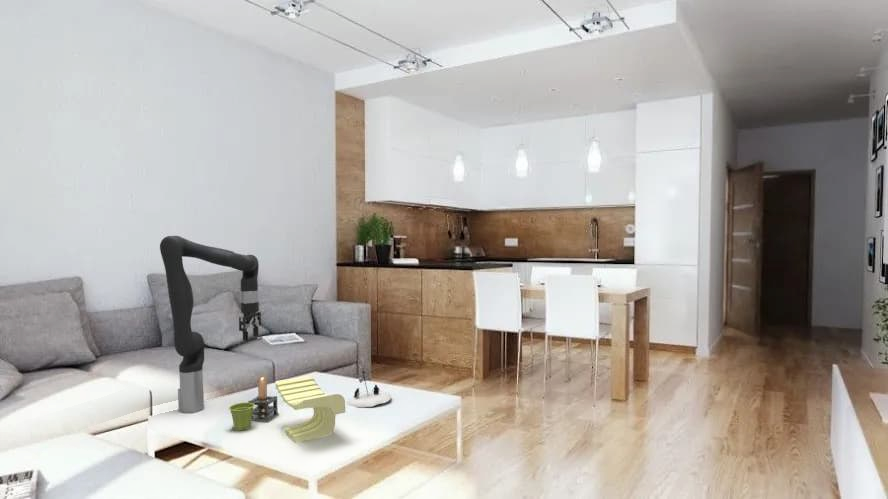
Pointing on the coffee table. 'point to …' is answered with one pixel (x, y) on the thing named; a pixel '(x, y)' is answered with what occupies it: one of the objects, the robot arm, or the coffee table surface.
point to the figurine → (368, 395)
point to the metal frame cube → (269, 410)
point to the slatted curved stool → (310, 396)
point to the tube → (262, 392)
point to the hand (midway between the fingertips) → (250, 338)
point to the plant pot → (241, 415)
